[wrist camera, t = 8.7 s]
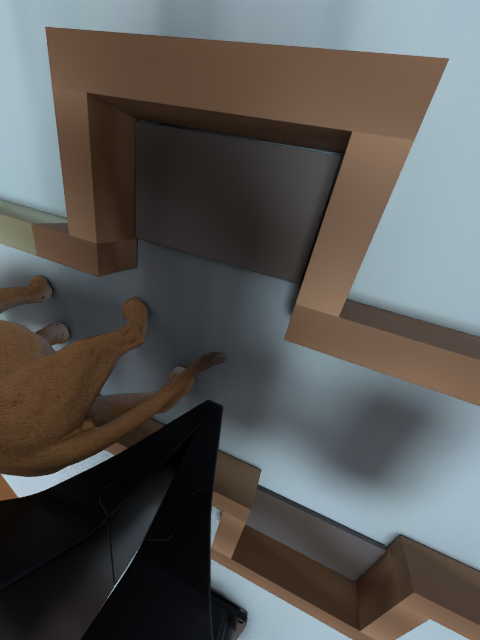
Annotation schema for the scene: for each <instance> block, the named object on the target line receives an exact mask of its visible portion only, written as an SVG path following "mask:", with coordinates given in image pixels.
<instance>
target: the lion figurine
mask: <svg viewBox="0 0 480 640" xmlns="http://www.w3.org/2000/svg"><path fill="white" fill-rule="evenodd" d="M51 294H52V288H51V286H50V285H49V283H48V282H47V280H46V279H45V278H44V277H42V276H35V277H33V278H32V280H31V281H30V285H29V287H12V288H4V289H0V313H2V312H4V311H6V310H8V309H10V308H13V307H16V306H20V305H25V304H30V303H39V302H42V301H44V300H46V299H48V298H50V297H51ZM122 313H123V317H124V318H125V319H126V320H127V321H128V323H127V324H126V325H125V326H124V327H123V328H121V329H119V330H117V331H114V332H110V333H106V334H102V335H98V336H95V337H91V338H88V339H83V340H78V341H75V342H72V343H70V344H68V345H66V346H65V347H63V348H62V349H60V350H59V351H55V350H54V349H53V347H52V345H55V344H62V343H64V342H66V341H68V339H69V337H70V335H69V331H68V328H67V327H66V326H65V325H63V324H61V323H52V324H50V325H48V326H46V327H44V328H43V329H41V330H39V331H37V332H35V333H34V332H32V331H30V330H29V329H28V328H26V327H24V326H22V325H19V324H17V323H13V322H8V321H3V320H0V473H1V474H6V475H15V476H24V477H36V476H43V475H49V474H52V473H56V472H58V471H60V470H62V469H63V468H65V467H67V466H70V465H72V464H75V463H78V462H80V461H82V460H85V459H87V458H89V457H91V456H93V455H95V454H97V453H99V452H101V451H103V450H104V449H106V448H108V447H110V446H111V445H113V444H115V443H117V442H118V441H120V440H121V439H122V438H124V437H125V436H127V435H128V434H130V433H131V432H133V431H134V430H135V429H137V428H138V427H139V426H141V425H142V424H143V423H145V422H146V421H147V420H148V419H150V418H151V417H152V416H153V415H155V414H159V413H164V412H167V411H168V410H169V409H171V408H172V407H173V406H174V405H175V404H176V403H177V402H178V401H179V400H180V399H181V398H182V397H184V396H185V395H186V394H187V393H188V392H189V391H190V389H191V388H192V386H193V383H194V378H195V377H196V376H197V375H198V374H199V373H200V372H202V371H204V370H206V369H208V368H210V367H212V366H215V365H217V364H220V363H223V362H224V361H225V360H226V359H227V356H226V354H225V353H218V352H210V353H208V354H206V355H203V356H202V357H200V358H199V359H197V360H196V361H195V362H194V363H192V364H191V365H189V366H188V367H187V368H186V369H185V368H183V367H179V366H178V367H175V368H174V369H173V370H172V371H171V372H170V373H169V375H168V379H169V380H170V381H171V382H170V383H169V384H167V385H166V386H165V387H163V388H162V389H160V390H159V391H156V392H152V393H131V394H115V395H106V396H98V395H99V393H100V391H101V389H102V387H103V385H104V384H105V382H106V381H107V379H108V377H109V376H110V374H111V372H112V370H113V368H114V366H115V365H116V363H117V361H118V360H119V358H120V357H121V356H122V355H123V354H125V353H126V352H127V351H129V350H131V349H133V348H135V347H138V346H140V345H142V344H143V343H144V341H145V337H146V328H147V322H148V310H147V308H146V306H145V305H144V304H143V303H142V302H141V301H140V300H139V299H137V298H131V299H128V300H126V301H125V302H124V305H123V307H122Z"/></svg>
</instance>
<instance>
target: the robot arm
mask: <svg viewBox="0 0 480 640" xmlns="http://www.w3.org/2000/svg"><path fill="white" fill-rule="evenodd" d="M222 415H223V406H222V405H220V404H218V403H216V402H213V401H211V400H206V401H205V402H203V403H201V404H200V405H198V406H196V407H195V408H193V409H191V410H190V411H188V412H186V413H185V414H183V415H182V416H180V417H178V418H177V419H175V420H173V421H172V422H170V423H168V424H167V425H165V426H163V427H162V428H160V429H158V430H157V431H155V432H154V433H152V434H150V435H149V436H147V437H145V438H144V439H142V440H140V441H139V442H137V443H135V445H132V446H130V447H129V448H127V449H125V450H124V451H122V452H120V453H118V454H117V455H115V456H113V457H111V458H110V459H108V460H106V461H104V462H102V463H100V464H98V465H96V466H94V467H92V468H90V469H88V470H86V471H84V472H82V473H80V474H78V475H76V476H74V477H72V478H70V479H68V480H65V481H63V482H61V483H59V484H57V485H55V486H53V487H51V488H49V489H47V490H44V491H42V492H39V493H36V494H33V495H29V496H26V497H21V498H15V499H9V500H2V501H0V640H237V638H238V637H239V635H240V634H241V632H242V631H243V629H244V628H245V626H246V623H247V618H248V617H247V616H246V615H245V614H244V613H243V612H241V611H239V610H238V609H236V608H234V607H233V606H231V605H229V604H228V603H226V602H224V601H223V600H221V599H219V598H218V597H216V596H214V595H213V594H211V510H212V499H213V490H214V481H215V473H216V465H217V456H218V448H219V440H220V432H221V423H222ZM141 543H142V544H141ZM140 545H141V546H140ZM139 546H140V548H139ZM138 548H139V550H138ZM137 550H138V552H137V554H136V555H135V557H134V559H133V561H132V563H131V565H130V566H129V568H128V569H127V571H126V572H125V574H124V575H123V577H122V578H121V580H120V581H119V583H118V584H117V586H116V587H115V589H114V590H113V588H114V586H115V585H116V583H117V582H118V580H119V578H120V577H121V575H122V574H123V572H124V570H125V569H126V567H127V566H128V564H129V562H130V561H131V559H132V558H133V556H134V554H135V553H136V551H137ZM112 590H113V592H112V593H111V591H112ZM110 593H111V595H110ZM109 595H110V596H109ZM108 596H109V598H108ZM107 598H108V599H107ZM106 599H107V601H106ZM105 601H106V602H105ZM104 602H105V604H104ZM103 604H104V605H103ZM102 606H103V607H102ZM101 607H102V608H101ZM100 609H101V610H100ZM99 610H100V611H99ZM98 612H99V613H98ZM96 615H97V616H96ZM94 618H95V619H94Z"/></svg>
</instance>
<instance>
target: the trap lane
mask: <svg viewBox="0 0 480 640" xmlns="http://www.w3.org/2000/svg"><path fill="white" fill-rule="evenodd" d="M45 29H46V37H47V46H48V55H49V63H50V72H51V81H52V89H53V98H54V107H55V115H56V124H57V133H58V141H59V150H60V159H61V167H62V176H63V185H64V194H65V202H66V211H67V219H65V218H62V217H58V216H55V215H51V214H48V213H44V212H41V211H37V210H34V209H31V208H27V207H24V206H20V205H17V204H13V203H10V202H6V201H3V200H0V243H1V244H4V245H6V246H9V247H12V248H15V249H18V250H21V251H24V252H27V253H30V254H33V255H36V256H39V257H42V258H45V259H48V260H51V261H54V262H57V263H60V264H62V265H65V266H68V267H71V268H74V269H77V270H80V271H83V272H86V273H89V274H92V275H95V276H98V277H100V276H104V275H108V274H112V273H116V272H120V271H124V270H128V269H132V268H136V267H137V238H139V239H142V240H146V241H149V242H153V243H156V244H160V245H163V246H167V247H170V248H174V249H177V250H181V251H184V252H188V253H191V254H195V255H198V256H202V257H205V258H209V259H212V260H216V261H219V262H223V263H226V264H230V265H233V266H237V267H240V268H244V269H247V270H251V271H254V272H258V273H261V274H265V275H268V276H272V277H275V278H279V279H282V280H286V281H289V282H293V283H296V284H300V282H301V279H302V276H303V273H304V270H305V267H306V263H307V260H308V257H309V254H310V251H311V248H312V245H313V242H314V239H315V236H316V233H317V230H318V227H319V223H320V220H321V217H322V214H323V211H324V208H325V205H326V202H327V199H328V196H329V193H330V190H331V187H332V183H333V180H334V177H335V174H336V171H337V168H338V165H339V162H340V159H341V156H339V155H334V154H328V153H322V152H316V151H310V150H304V149H298V148H292V147H286V146H280V145H274V144H268V143H262V142H256V141H250V140H244V139H238V138H232V137H226V136H220V135H214V134H208V133H202V132H196V131H190V130H184V129H178V128H172V127H167V126H161V125H155V124H149V123H143V122H138V120H144V121H150V122H156V123H162V124H168V125H174V126H180V127H186V128H193V129H199V130H205V131H211V132H217V133H223V134H229V135H235V136H241V137H247V138H253V139H259V140H265V141H271V142H277V143H283V144H289V145H295V146H301V147H307V148H313V149H319V150H326V151H332V152H338V153H344V154H345V156H344V159H343V162H342V165H341V168H340V171H339V174H338V177H337V180H336V183H335V186H334V189H333V192H332V195H331V198H330V201H329V204H328V207H327V210H326V213H325V216H324V219H323V222H322V225H321V228H320V232H319V235H318V238H317V241H316V244H315V247H314V250H313V253H312V256H311V259H310V262H309V265H308V268H307V271H306V274H305V277H304V280H303V283H302V286H301V289H300V292H299V295H298V298H297V301H296V304H295V307H294V310H293V313H292V317H291V320H290V323H289V326H288V329H287V332H286V335H285V338H284V340H287V341H289V342H292V343H295V344H298V345H301V346H304V347H307V348H310V349H313V350H316V351H319V352H322V353H325V354H328V355H331V356H334V357H337V358H340V359H343V360H345V361H348V362H351V363H354V364H357V365H360V366H363V367H366V368H369V369H372V370H375V371H378V372H381V373H384V374H387V375H390V376H393V377H396V378H399V379H401V380H404V381H407V382H410V383H413V384H416V385H419V386H422V387H425V388H428V389H431V390H434V391H437V392H440V393H443V394H446V395H449V396H452V397H455V398H458V399H460V400H463V401H466V402H469V403H472V404H475V405H478V406H480V338H479V337H476V336H472V335H469V334H465V333H462V332H458V331H455V330H451V329H448V328H444V327H441V326H437V325H434V324H430V323H427V322H423V321H420V320H417V319H413V318H410V317H406V316H403V315H399V314H396V313H392V312H389V311H385V310H382V309H378V308H375V307H371V306H368V305H364V304H361V303H357V302H354V301H350V300H347V299H346V298H347V296H348V294H349V291H350V289H351V287H352V284H353V282H354V280H355V277H356V275H357V273H358V270H359V268H360V266H361V263H362V261H363V259H364V256H365V254H366V252H367V249H368V247H369V245H370V242H371V240H372V238H373V235H374V233H375V231H376V228H377V226H378V224H379V221H380V219H381V217H382V214H383V212H384V210H385V207H386V205H387V203H388V200H389V198H390V196H391V193H392V191H393V189H394V186H395V184H396V182H397V179H398V177H399V175H400V172H401V170H402V168H403V165H404V163H405V161H406V158H407V156H408V154H409V151H410V149H411V147H412V144H413V142H414V140H415V137H416V135H417V133H418V130H419V128H420V126H421V123H422V121H423V119H424V116H425V114H426V112H427V109H428V107H429V105H430V102H431V100H432V98H433V95H434V93H435V91H436V88H437V86H438V84H439V81H440V79H441V77H442V74H443V72H444V69H445V67H446V65H447V62H448V60H449V59H448V58H436V57H423V56H410V55H397V54H385V53H372V52H359V51H346V50H334V49H321V48H308V47H295V46H283V45H270V44H257V43H244V42H232V41H219V40H206V39H194V38H181V37H168V36H155V35H143V34H130V33H117V32H104V31H92V30H79V29H66V28H53V27H45ZM98 396H100V395H98ZM163 426H165V425H163V424H160V423H158V422H156V421H154V420H152V419H148V420H147V421H146V422H145V423H143V424H142V425H141V426H139V427H138V428H137V429H135V430H134V431H133V432H131V433H130V434H128V435H127V436H125V437H124V438H122V439H121V440H120V441H118V442H117V443H115V444H113V445H111V446H110V447H108V448H106V449H104V450H106V451H108V452H110V453H112V454H114V455H117V454H118V453H120V452H122V451H124V450H125V449H127V448H129V447H130V446H132V445H135V443H137V442H139V441H140V440H142V439H144V438H145V437H147V436H149V435H150V434H152V433H154V432H155V431H157V430H158V429H160V428H162V427H163ZM260 473H261V470H259V469H257V468H255V467H253V466H251V465H249V464H247V463H244V462H242V461H240V460H238V459H236V458H234V457H231V456H229V455H227V454H225V453H223V452H221V451H219V450H218V456H217V465H216V473H215V481H214V490H213V499H212V506H214V507H216V508H218V509H220V510H222V511H223V513H222V516H221V519H220V522H219V526H218V529H217V532H216V535H215V538H214V542H213V545H212V548H211V559H212V560H214V561H216V562H218V563H219V564H221V565H223V566H225V567H226V568H228V569H230V570H232V571H233V572H235V573H237V574H239V575H240V576H242V577H244V578H246V579H247V580H249V581H251V582H253V583H254V584H256V585H258V586H260V587H261V588H263V589H265V590H267V591H268V592H270V593H272V594H274V595H275V596H277V597H279V598H281V599H282V600H284V601H286V602H288V603H289V604H291V605H293V606H295V607H296V608H298V609H300V610H302V611H304V612H305V613H307V614H309V615H311V616H312V617H314V618H316V619H318V620H319V621H321V622H323V623H325V624H326V625H328V626H330V627H332V628H333V629H335V630H337V631H339V632H340V633H342V634H344V635H346V636H347V637H349V638H351V639H353V640H396V639H397V638H399V637H401V636H402V635H404V634H406V633H407V632H409V631H411V630H412V629H414V628H416V627H417V626H419V625H421V624H422V623H424V622H426V621H427V620H429V619H431V620H433V621H435V622H437V623H439V624H441V625H443V626H445V627H447V628H449V629H451V630H453V631H454V632H456V633H458V634H460V635H462V636H464V637H466V638H468V639H470V640H480V572H479V571H477V570H475V569H473V568H471V567H468V566H466V565H464V564H462V563H460V562H458V561H455V560H453V559H451V558H449V557H447V556H445V555H443V554H440V553H438V552H436V551H434V550H432V549H430V548H427V547H425V546H423V545H421V544H419V543H417V542H415V541H412V540H410V539H408V538H406V537H404V536H402V535H400V536H399V537H398V538H397V539H396V540H395V541H394V542H393V543H392V544H391V545H390V546H389V547H388V548H387V549H386V546H384V545H382V544H379V543H377V542H375V541H373V540H371V539H369V538H367V537H365V536H363V535H361V534H359V533H356V532H354V531H352V530H350V529H348V528H346V527H344V526H342V525H340V524H338V523H336V522H334V521H331V520H329V519H327V518H325V517H323V516H321V515H319V514H317V513H315V512H313V511H311V510H309V509H306V508H304V507H302V506H300V505H298V504H296V503H294V502H292V501H290V500H288V499H286V498H283V497H281V496H279V495H277V494H275V493H273V492H271V491H269V490H267V489H265V488H263V487H261V486H258V481H259V477H260Z"/></svg>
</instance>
